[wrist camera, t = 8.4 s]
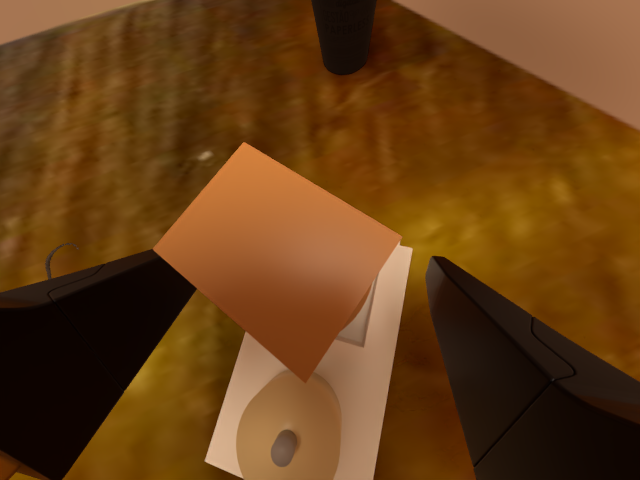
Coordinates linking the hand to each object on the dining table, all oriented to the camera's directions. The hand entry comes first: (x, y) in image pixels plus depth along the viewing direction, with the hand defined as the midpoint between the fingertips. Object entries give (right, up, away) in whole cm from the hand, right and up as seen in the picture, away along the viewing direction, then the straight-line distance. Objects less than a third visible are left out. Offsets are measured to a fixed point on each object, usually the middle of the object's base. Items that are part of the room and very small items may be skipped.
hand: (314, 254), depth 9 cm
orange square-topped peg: (+1, -3, +8) cm, 9 cm away
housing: (0, -8, +9) cm, 12 cm away
